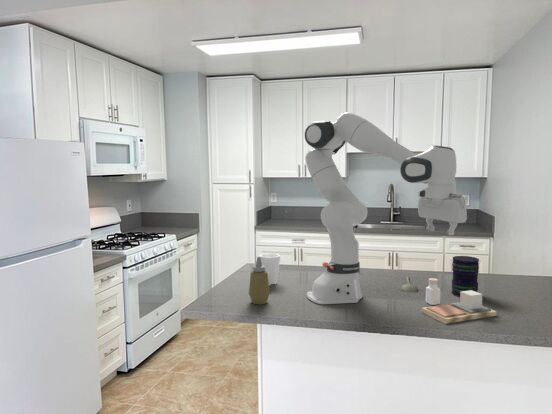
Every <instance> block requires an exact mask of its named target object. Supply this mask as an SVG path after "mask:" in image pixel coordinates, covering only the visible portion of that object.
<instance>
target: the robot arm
mask: <svg viewBox="0 0 552 414" xmlns="http://www.w3.org/2000/svg"><path fill="white" fill-rule="evenodd" d="M335 120H336V121H334V122H331V121H329V120H326V121H325V120H320V121H313V122H311V123H309V124H308V125H307V127H306V128H305V130H304V140H305V141H306V143H307V145H308V146H310V147H311V149H309V150H308V152H307V153H306V155H305V158H304V159H305V163H306V166H307V170H308V173H309V174H310V178H311V179H312V181H313V184H314V185H315V187H316V189H317V191H318V193H319V195H320V196H321V197H322V198H324V199H325V200H326V201H327V202H328V203H329V204H327V205H325V206H324V207H323V208H322V210H321V212H320V220H321V223H322V224H323V226H324V227H326V230H327V233H328V236H329V241H330V261H329V262H327V261H323V262H322V264H321V265H322V267H324V268H325V269H326V271H324V272H323V273H322V274H321V275H319V276H318V277H317V278H316V279H315V280H314V281H313V284H312V288H311V291H308V292H306V297H307V299H308V300H310V301H312V302H313V303H315V304H318V305H333V304H336V305H337V304H353V303H355V304H357V303H358V302H359V301H360V299H362V298H363V293H362V289H361V284H360V270H361V269H360V268H361V267H360V266H361V263H360V262H361V261H359V260H360V259H359V255H360V254H359V250H360V247H359V246H360V244H359V241H358V240H357V239H356V236H355V233H354V227H356V226H358V225H360V224H362V223H363V222H364V221H365V220H366V219H367V217H368V213H369V212H368V211H369V210H368V207H367V205H366V204H365V203H364V202H363V201H361V200H360V199H359V198H358V197H357V196H356V195H355V193H353V191H352V190H351V189H350V188H349V187H348V185H347V183H346V182H345V181H344V178H343V177H342V175H341V172H340V171H339V168H338V167H337V165H336V164H335V162H334V160H333V155H336V154H337V153H338V152H339V150H341V149H342V148H343V147H344V145H345V144H346V143H348V144H349V145H350V146H351V147H353V148H355V149H356V150H358V151H361V152H363V153H366V154H370V155H377V156H382V157H386V158H388V159H391V160H393V161H394V162H396V163H397V164H399V165H400V169H399V170H400V175H401V177H402V179H403V180H404V181H406V182H407V183H411V184H427V187H425V188H423V189H421V190H420V191H418V194H417V196H418V197H419V198H418V202H417V213H418V216H419V218H424V219H425V222H426V224H427V231H428V232H435V231H436V229H435V228H436V227H435V225H434V224H433V221H434V220H435V221H436V220H437V221H443V222H448V225H449V229H446V235H448V236H454V235H455V230H456V228H457V226H458V224H464V223H466V222H467V219H468V213H467V204H466V198H465V197H464V196H463V195H462V194H459V193H458V194H456V193H457V190H456V189H457V183H456V174H457V155H456V151H455V150H454V149H453V148H452V147H449V146H442V145H433V146H431V147H430V148H428V149H427V150H425V151H423V152H420V153H419V154H417V153H416V152H413V151H412V150H410V149H409V148H407V147H405V146H404V145H401V144H400V143H398V142H397V141H395V140H394V139H393V138H391V137H390V136H389V135H387V134H386V133H385V132H384V131H383V130H382V129H380V128H379V127H378V126H376V125H375V124H374V123H372V122H370V121H369V120H367V119H366V118H364V117H362V116H359V115H357V114H355V113H352V112H344V113H341V114H340V115H339V116H338V117H337V118H336V119H335Z"/></svg>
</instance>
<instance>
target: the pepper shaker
mask: <svg viewBox="0 0 552 414" xmlns="http://www.w3.org/2000/svg"><path fill="white" fill-rule="evenodd" d="M438 282H439V280H438V278H433V277H430V278H428V286H426V287H425V303H426V304H428V305H430V306H438V305H441V289H440V287H438V284H439V283H438Z"/></svg>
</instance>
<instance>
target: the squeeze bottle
mask: <svg viewBox="0 0 552 414" xmlns="http://www.w3.org/2000/svg"><path fill="white" fill-rule="evenodd" d="M255 261H256V263H255V265H253V266H252V271H251V272H250V276H249V277H250V278H249V289H248V295H249V299H250V301H251V303H252V304H253V305H265V304H267V303H268V300H269V297H270V293H271V292H270V285H269V283H268V274H267V272H266V271H265V266H263V265H262V262H261V258H260V257H259V256H257V257H256V260H255Z"/></svg>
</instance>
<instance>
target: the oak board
mask: <svg viewBox="0 0 552 414" xmlns="http://www.w3.org/2000/svg"><path fill="white" fill-rule="evenodd" d="M420 309H421V310H420V311H421V313H422V314H425V315H426V316H429V317H430V318H433V319H435V320H437V321H438V322H440V323H443V324H446V325H447V324H453V323H459V322H465V321H472V320H477V319H485V318H490V317H496V316H497V310H494V309H492V308H490V307H486V306H484V305H482V308H478V309H468V308H466V307H463V306H461V305H460V301H459V302H454V303H453V302H452V303H447V304H437V305H430V306H424V307H421V308H420Z"/></svg>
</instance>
